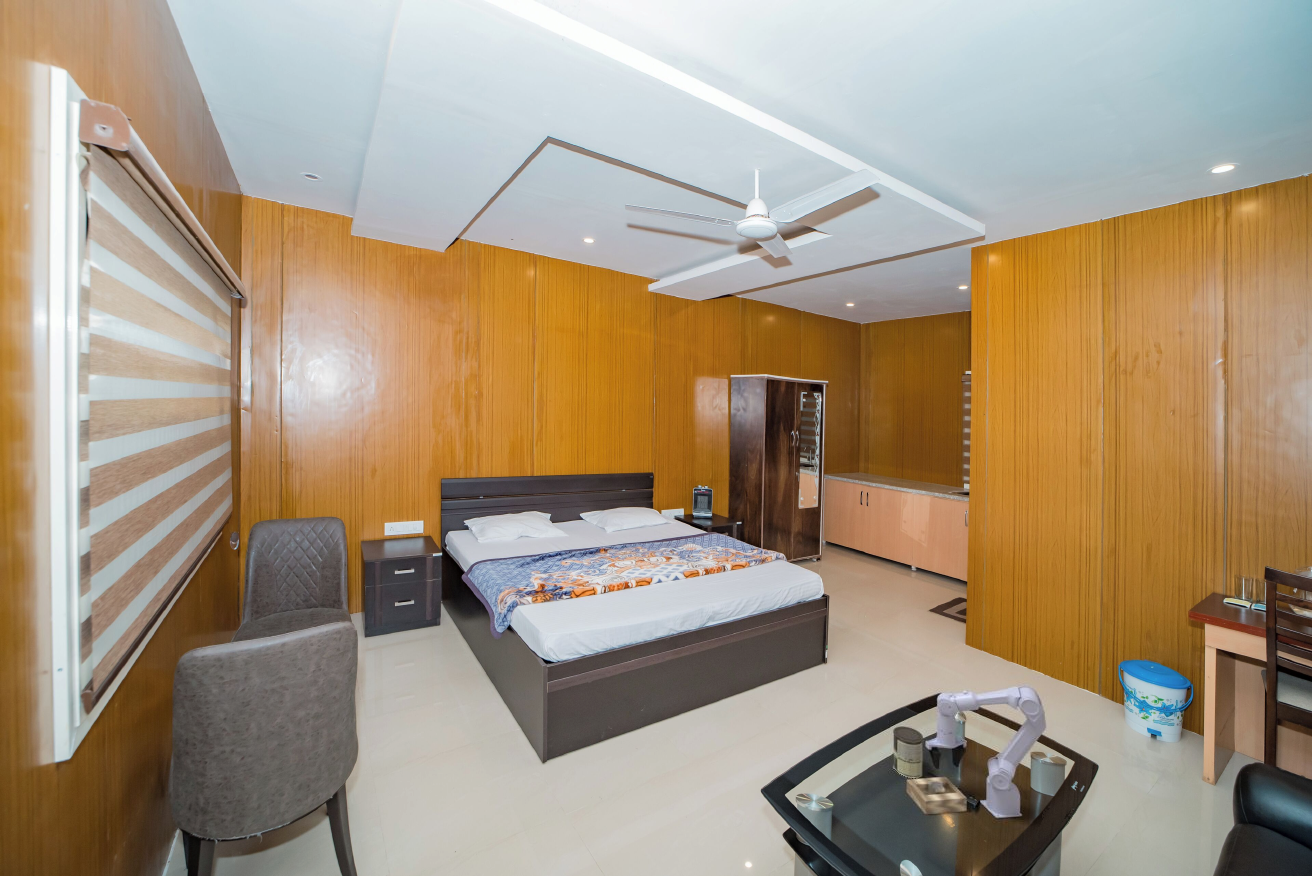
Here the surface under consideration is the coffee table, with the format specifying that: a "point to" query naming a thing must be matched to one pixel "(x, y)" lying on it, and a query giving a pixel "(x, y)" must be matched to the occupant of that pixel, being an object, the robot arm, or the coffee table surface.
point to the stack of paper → (935, 788)
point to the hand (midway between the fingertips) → (945, 766)
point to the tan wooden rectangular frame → (936, 796)
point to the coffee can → (908, 752)
